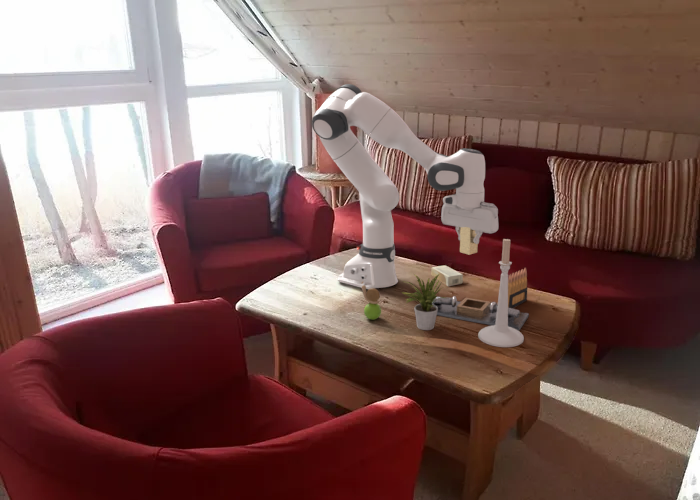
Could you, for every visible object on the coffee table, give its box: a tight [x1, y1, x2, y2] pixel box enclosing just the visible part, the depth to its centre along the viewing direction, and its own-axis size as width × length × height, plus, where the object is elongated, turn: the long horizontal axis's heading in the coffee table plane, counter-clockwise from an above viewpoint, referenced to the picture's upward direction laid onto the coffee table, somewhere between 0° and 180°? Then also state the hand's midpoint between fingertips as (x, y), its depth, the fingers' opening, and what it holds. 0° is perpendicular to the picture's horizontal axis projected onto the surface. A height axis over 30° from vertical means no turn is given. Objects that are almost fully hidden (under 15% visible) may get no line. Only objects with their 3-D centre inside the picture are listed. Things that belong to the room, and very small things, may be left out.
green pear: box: [361, 282, 382, 321], centre depth 181 cm, size 5×6×12 cm
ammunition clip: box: [508, 267, 528, 309], centre depth 190 cm, size 11×2×12 cm, turn 133°
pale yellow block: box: [459, 227, 479, 256], centre depth 188 cm, size 4×4×10 cm
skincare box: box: [430, 264, 464, 287], centre depth 214 cm, size 6×4×12 cm
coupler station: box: [436, 297, 529, 331], centre depth 185 cm, size 32×12×4 cm, turn 61°
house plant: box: [400, 273, 447, 331], centre depth 176 cm, size 14×14×16 cm
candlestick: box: [477, 238, 525, 348], centre depth 164 cm, size 13×13×30 cm
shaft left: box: [433, 295, 458, 309], centre depth 187 cm, size 9×4×4 cm, turn 73°
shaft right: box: [489, 301, 521, 322], centre depth 179 cm, size 9×4×4 cm, turn 49°
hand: (468, 241), depth 189 cm, fingers closed on pale yellow block, 4 cm apart
